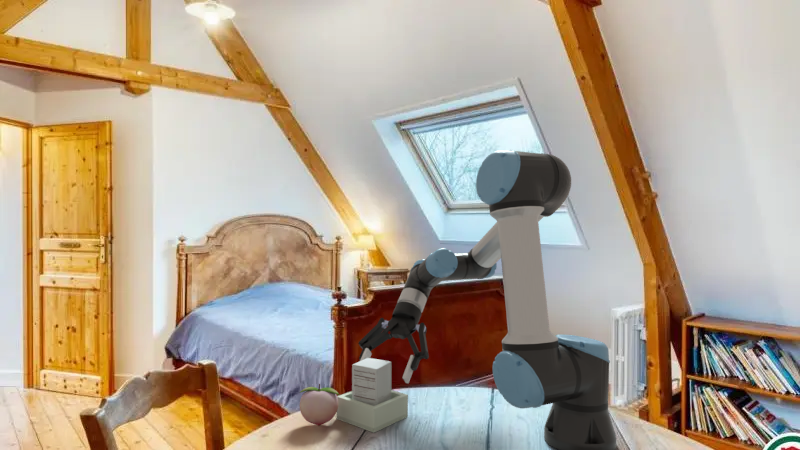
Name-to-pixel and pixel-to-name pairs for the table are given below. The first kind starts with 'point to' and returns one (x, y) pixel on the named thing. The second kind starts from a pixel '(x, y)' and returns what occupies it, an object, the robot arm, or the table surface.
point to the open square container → (372, 411)
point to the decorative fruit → (318, 404)
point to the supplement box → (371, 381)
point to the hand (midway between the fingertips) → (381, 376)
